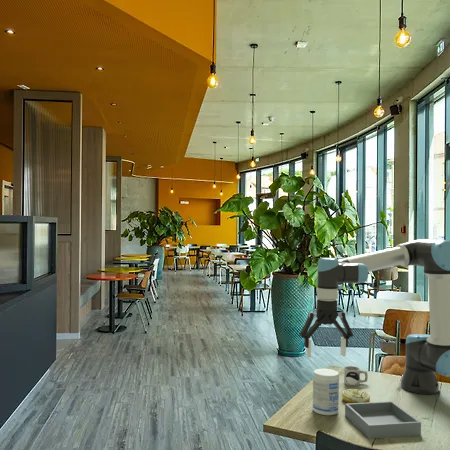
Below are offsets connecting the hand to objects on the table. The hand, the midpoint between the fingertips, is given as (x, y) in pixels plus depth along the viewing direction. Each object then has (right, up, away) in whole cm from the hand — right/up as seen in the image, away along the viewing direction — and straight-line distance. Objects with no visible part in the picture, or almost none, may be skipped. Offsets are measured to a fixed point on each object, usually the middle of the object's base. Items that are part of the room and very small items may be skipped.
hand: (325, 355), depth 176 cm
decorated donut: (+14, -21, +11) cm, 28 cm away
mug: (+20, -21, +31) cm, 42 cm away
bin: (+17, -21, -11) cm, 29 cm away
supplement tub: (0, -21, 0) cm, 21 cm away
